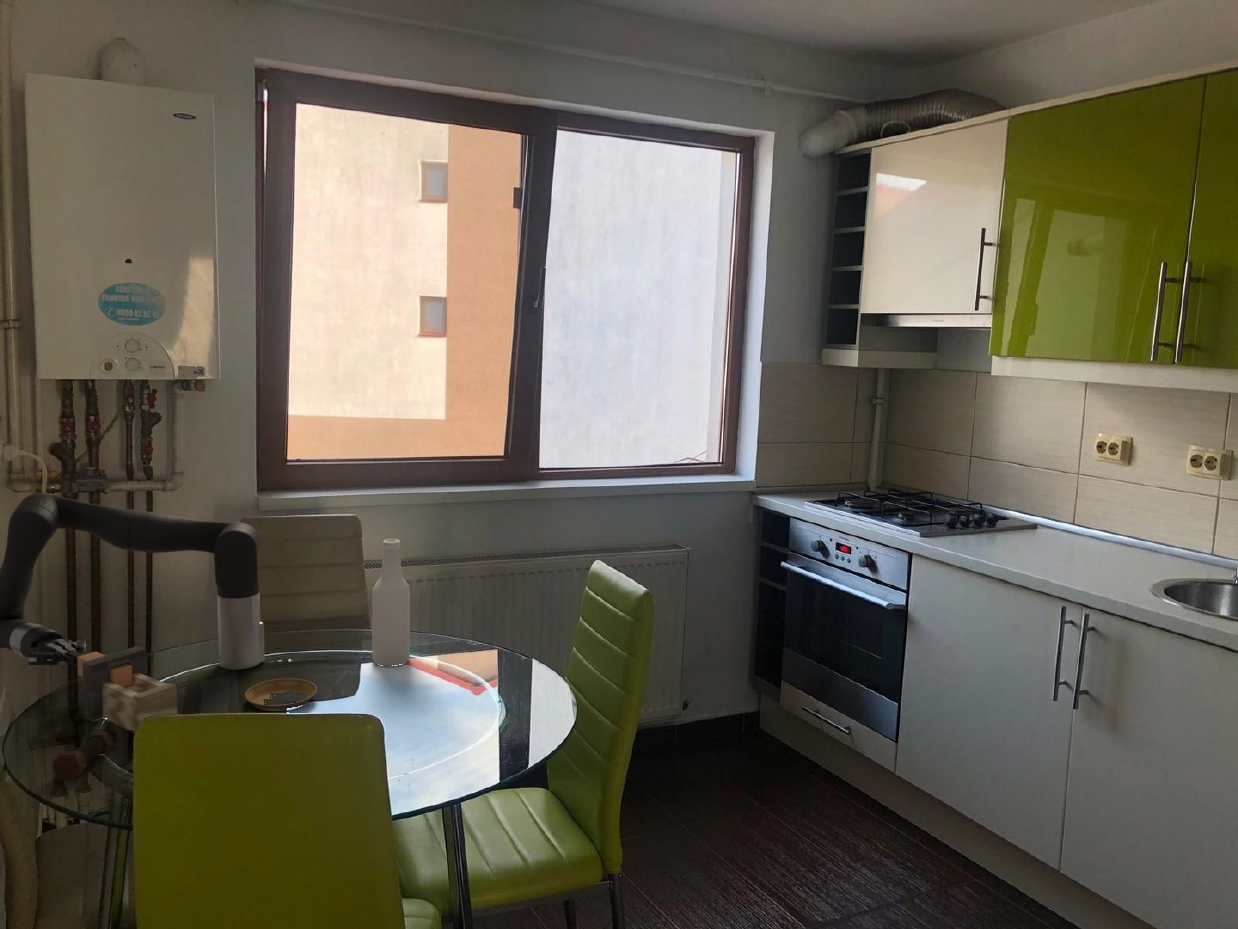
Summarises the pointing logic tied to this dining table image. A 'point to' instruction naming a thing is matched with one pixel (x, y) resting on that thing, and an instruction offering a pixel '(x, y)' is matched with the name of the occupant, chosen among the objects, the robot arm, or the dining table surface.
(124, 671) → the peg
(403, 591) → the alcohol
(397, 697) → the dining table surface
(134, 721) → the frame
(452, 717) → the dining table surface
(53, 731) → the dining table surface
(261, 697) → the plant saucer
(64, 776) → the bolt
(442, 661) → the dining table surface
